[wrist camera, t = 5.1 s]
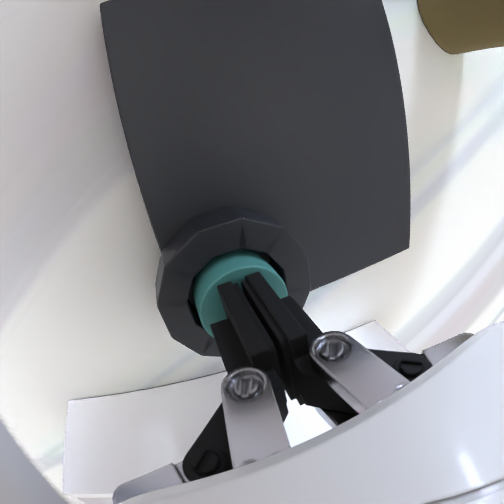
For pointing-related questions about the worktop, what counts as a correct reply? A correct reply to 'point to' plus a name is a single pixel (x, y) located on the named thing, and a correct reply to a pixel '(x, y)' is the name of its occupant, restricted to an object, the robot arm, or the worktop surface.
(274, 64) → the scale
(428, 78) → the worktop surface
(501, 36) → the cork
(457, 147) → the worktop surface
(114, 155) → the worktop surface
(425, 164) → the worktop surface
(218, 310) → the button
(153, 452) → the white tray with pad
